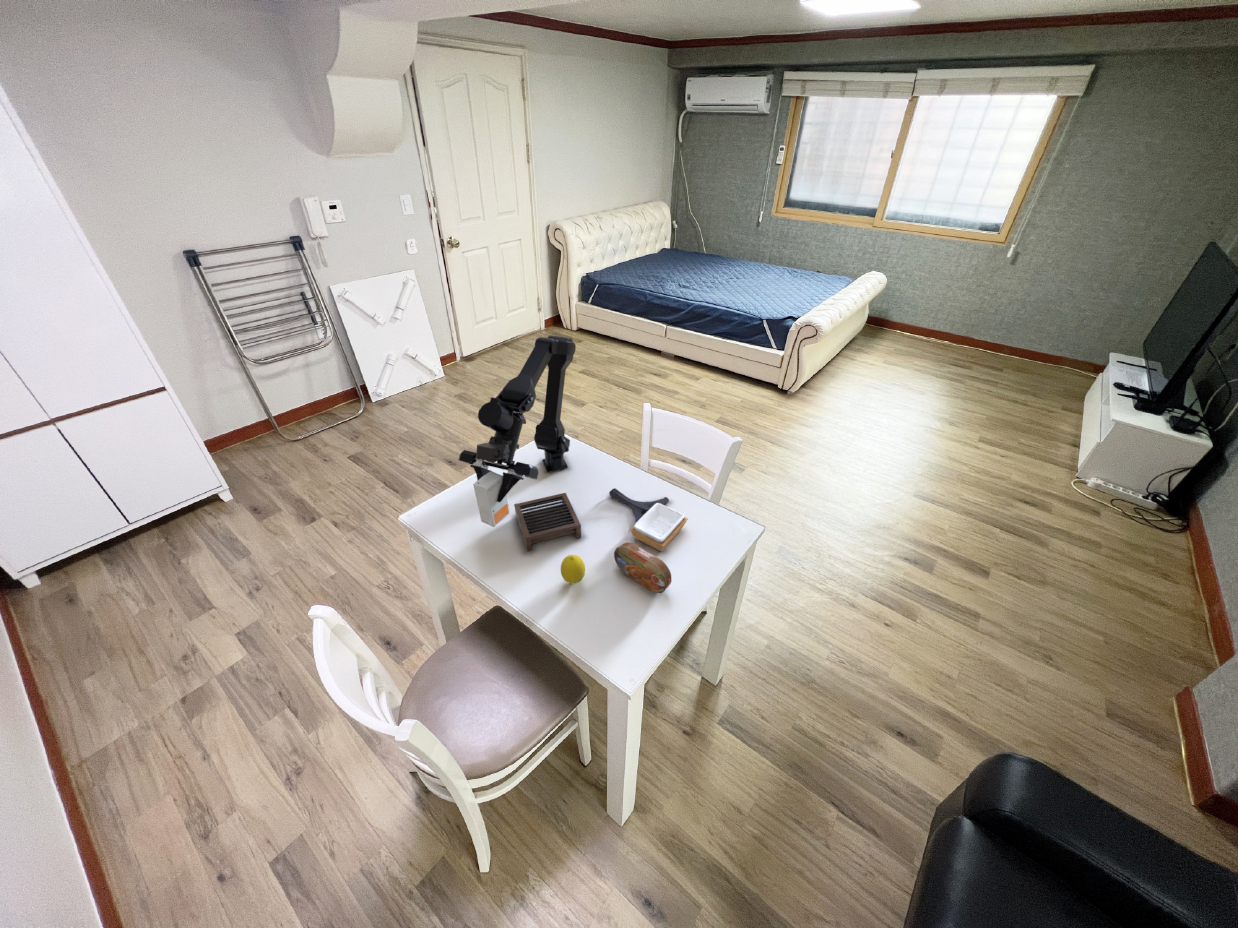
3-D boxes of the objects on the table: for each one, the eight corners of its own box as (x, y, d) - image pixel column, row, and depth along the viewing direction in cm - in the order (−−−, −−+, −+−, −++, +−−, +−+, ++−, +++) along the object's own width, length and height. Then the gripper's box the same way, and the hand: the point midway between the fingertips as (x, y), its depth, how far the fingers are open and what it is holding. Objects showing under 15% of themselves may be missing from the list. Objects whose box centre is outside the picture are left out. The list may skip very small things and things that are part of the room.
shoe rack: (515, 516, 130) (514, 504, 128) (566, 505, 135) (565, 492, 132) (527, 551, 120) (525, 538, 118) (581, 537, 125) (580, 524, 122)
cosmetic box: (494, 528, 117) (486, 489, 110) (481, 522, 119) (472, 483, 112) (510, 513, 122) (503, 475, 115) (497, 507, 123) (490, 469, 116)
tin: (613, 566, 117) (613, 541, 112) (621, 559, 119) (622, 534, 114) (663, 600, 109) (666, 574, 104) (672, 592, 111) (675, 566, 106)
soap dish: (655, 513, 132) (656, 499, 129) (687, 528, 128) (689, 514, 125) (629, 540, 124) (629, 525, 121) (662, 557, 119) (663, 542, 116)
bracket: (625, 482, 143) (625, 475, 141) (668, 502, 136) (669, 495, 134) (594, 508, 134) (594, 501, 132) (639, 531, 127) (640, 523, 125)
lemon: (573, 568, 116) (571, 544, 111) (590, 580, 113) (589, 555, 109) (556, 582, 113) (554, 558, 108) (574, 594, 110) (572, 570, 105)
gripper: (455, 421, 112) (436, 487, 110) (528, 436, 107) (509, 505, 106) (479, 432, 123) (462, 492, 121) (546, 446, 118) (530, 509, 116)
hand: (489, 499), depth 116 cm, fingers closed on cosmetic box, 4 cm apart
